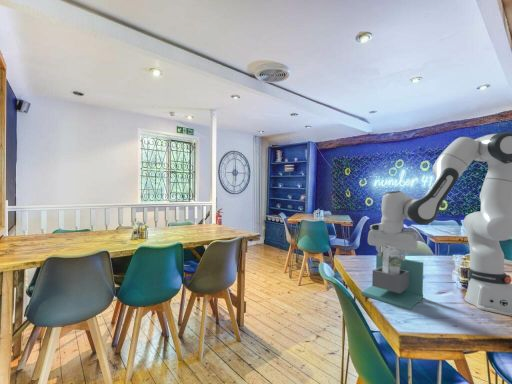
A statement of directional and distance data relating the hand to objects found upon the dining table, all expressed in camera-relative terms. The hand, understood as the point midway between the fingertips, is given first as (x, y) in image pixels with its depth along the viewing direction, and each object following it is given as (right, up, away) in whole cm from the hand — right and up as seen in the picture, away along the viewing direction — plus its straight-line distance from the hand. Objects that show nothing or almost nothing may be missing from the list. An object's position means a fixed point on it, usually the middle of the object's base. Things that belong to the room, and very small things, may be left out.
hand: (391, 258), depth 119 cm
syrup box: (0, -8, 0) cm, 8 cm away
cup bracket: (+1, -18, +2) cm, 18 cm away
